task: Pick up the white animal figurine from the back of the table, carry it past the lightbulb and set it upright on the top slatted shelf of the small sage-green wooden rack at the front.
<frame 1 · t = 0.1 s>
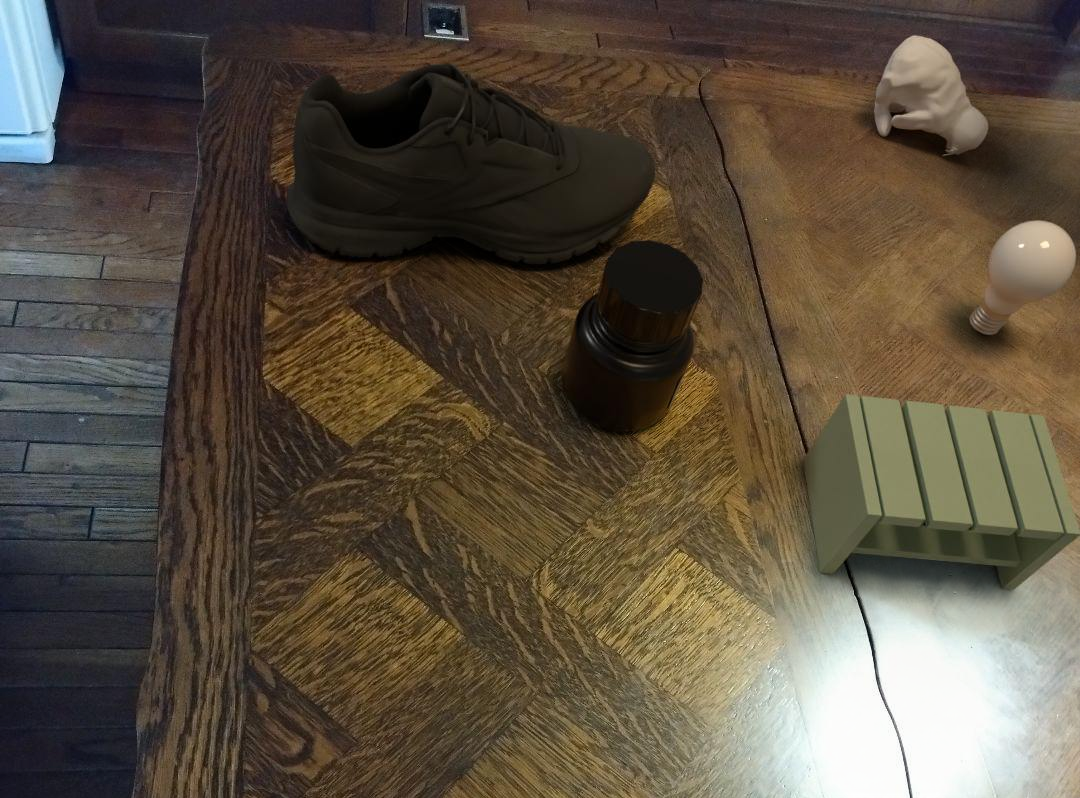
white animal figurine: (916, 137, 100), on the table
rack: (906, 522, 74), on the table
ink bottle: (615, 390, 77), on the table
running shoe: (472, 228, 84), on the table
lightbulb: (979, 330, 86), on the table
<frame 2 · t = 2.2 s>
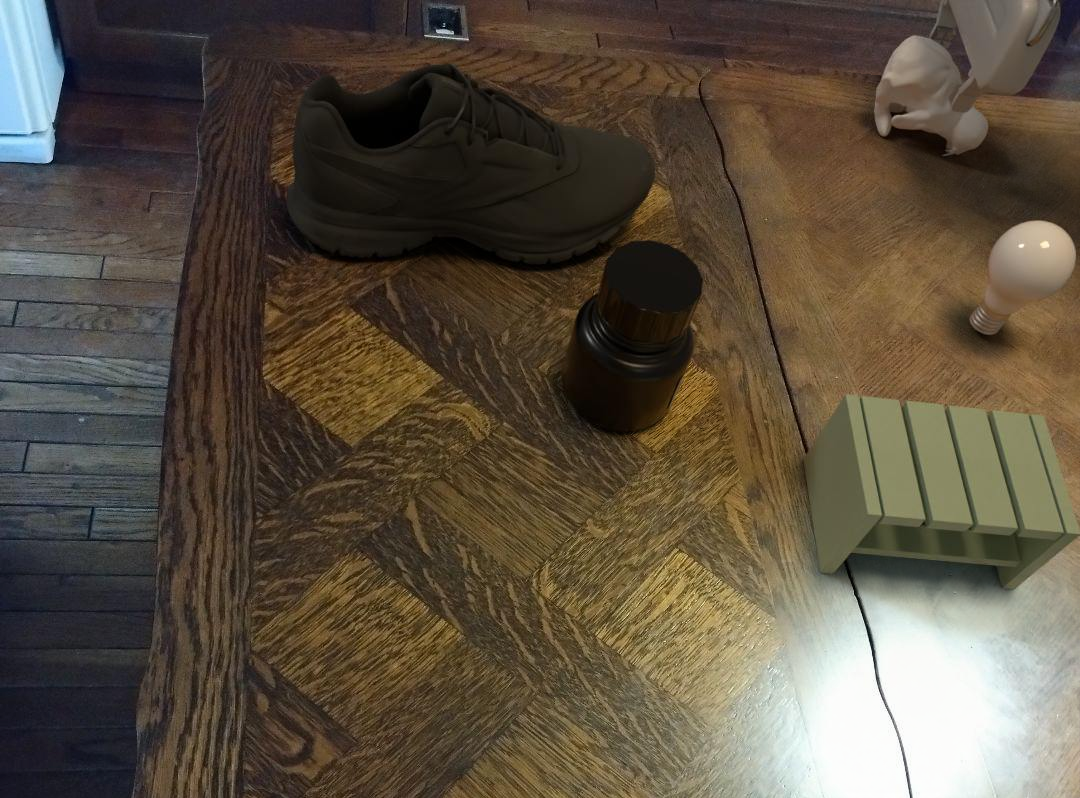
hand: (946, 75, 94), 7 cm above the table, tool pointing down, fingers open, 8 cm apart
white animal figurine: (916, 137, 100), on the table, touching gripper
everything else where it was.
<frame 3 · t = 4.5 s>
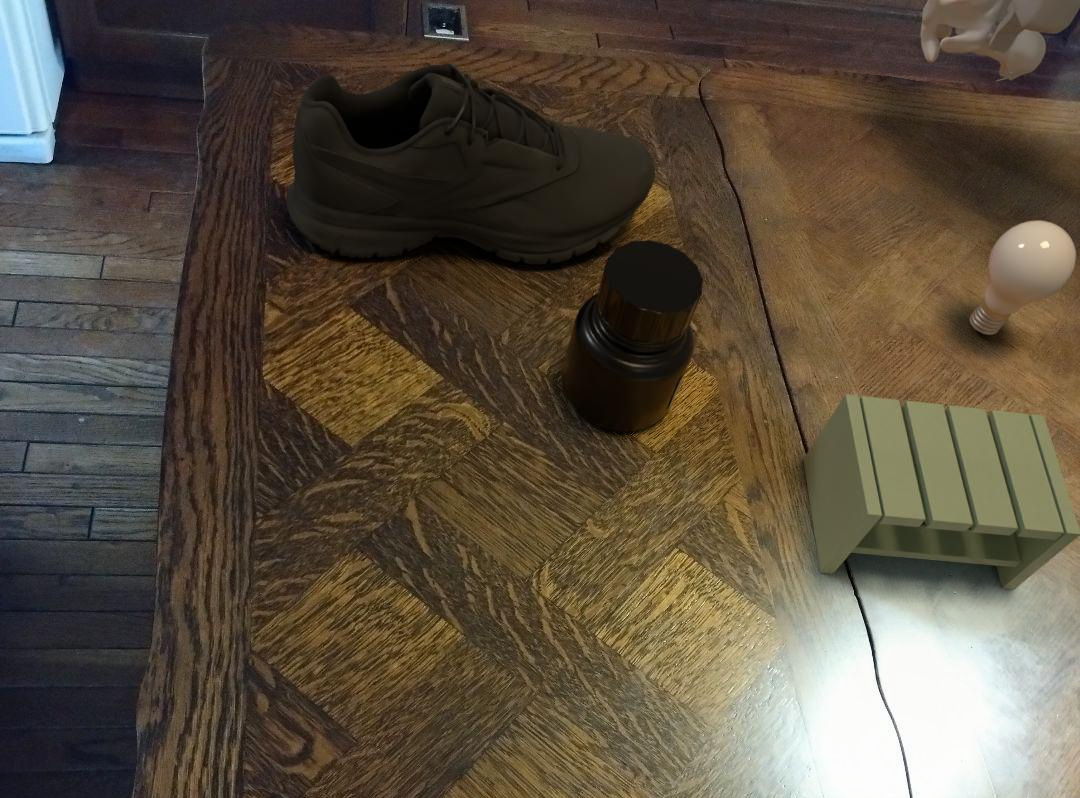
hand: (985, 19, 89), 12 cm above the table, tool pointing down, fingers closed on white animal figurine, 6 cm apart
white animal figurine: (965, 63, 92), point 8 cm above the table, touching gripper
everything else where it was.
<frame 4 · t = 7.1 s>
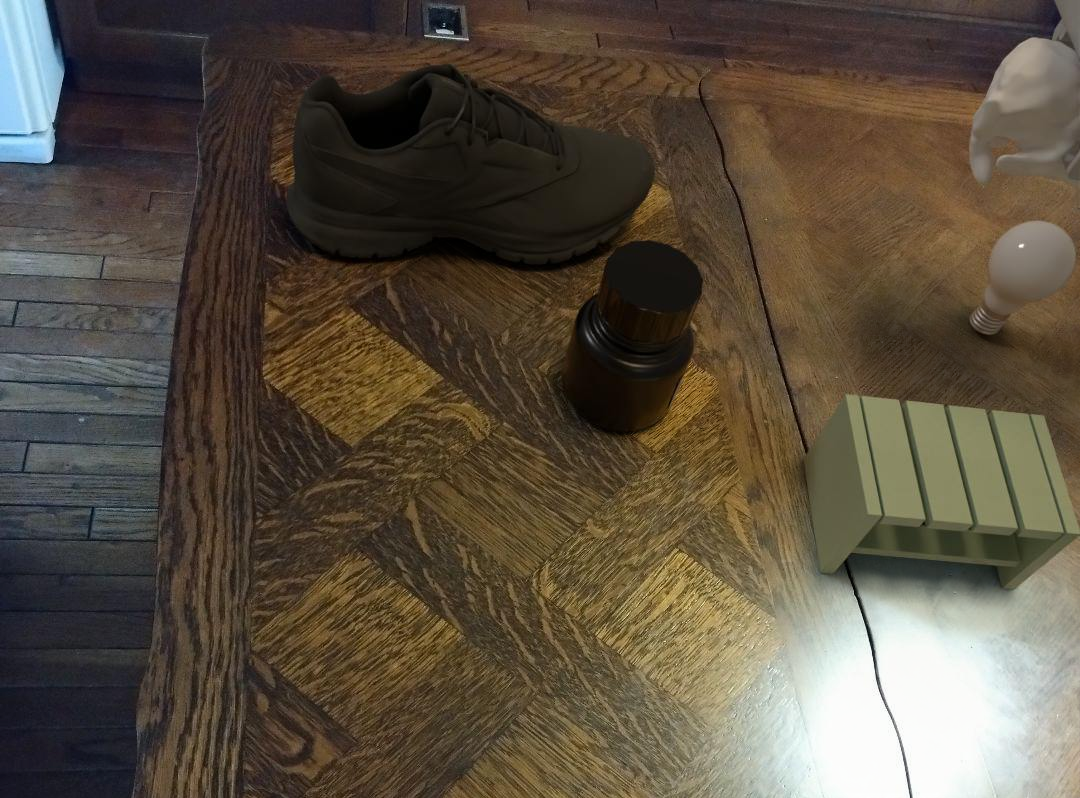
hand: (1059, 132, 66), 21 cm above the table, tool pointing down, fingers closed on white animal figurine, 6 cm apart
white animal figurine: (1027, 184, 69), point 17 cm above the table, touching gripper
everything else where it was.
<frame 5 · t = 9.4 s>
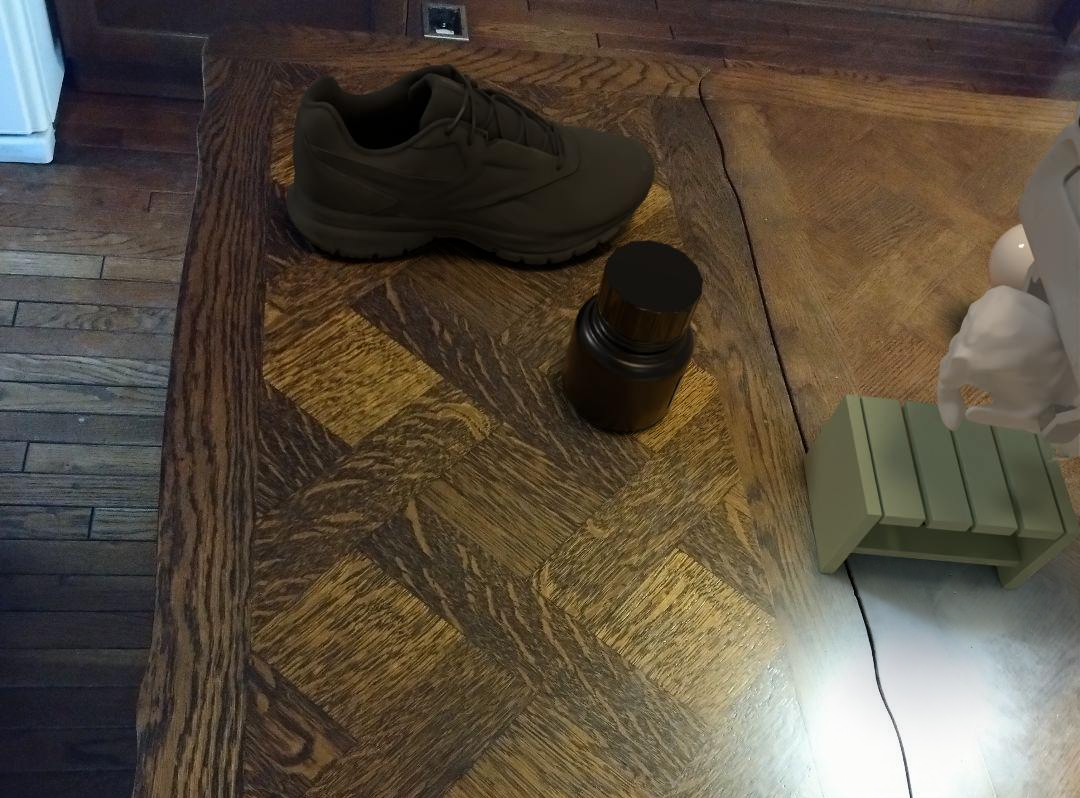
hand: (1034, 380, 60), 17 cm above the table, tool pointing down, fingers closed on white animal figurine, 6 cm apart
white animal figurine: (1001, 424, 63), point 13 cm above the table, touching gripper
everything else where it was.
when the fingers open (12 cm above the table, at t = 11.1 s): white animal figurine stays where it is, resting on rack.
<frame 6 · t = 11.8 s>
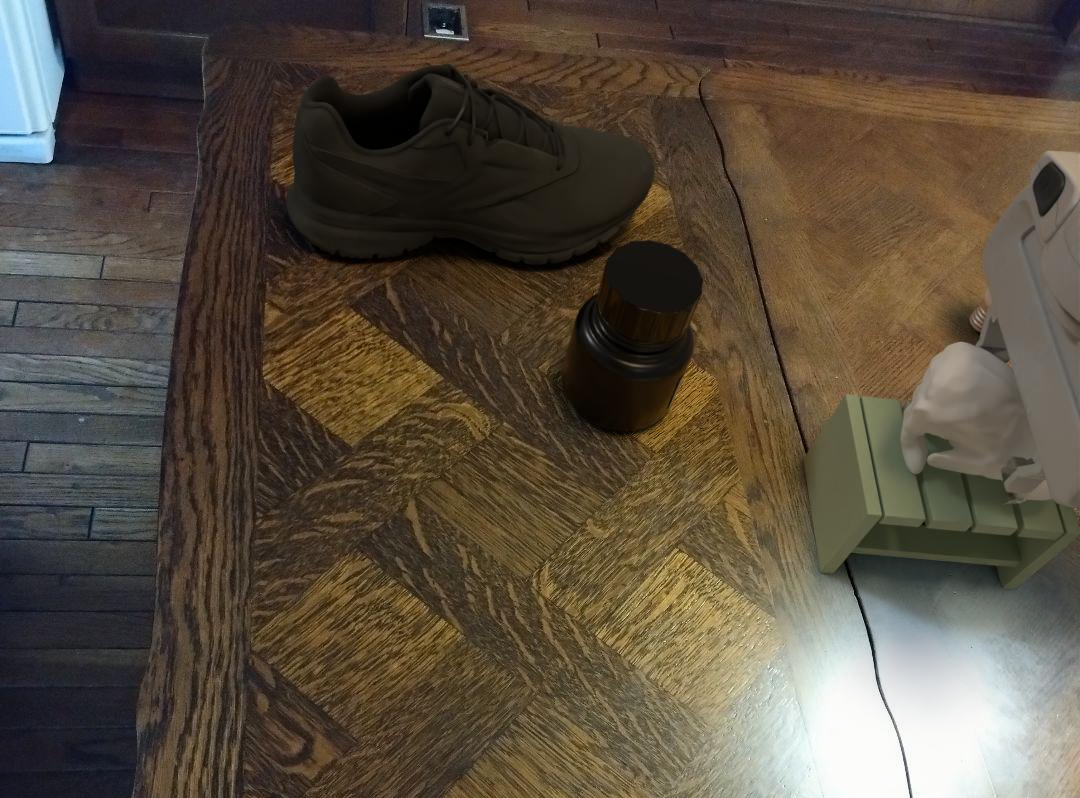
hand: (996, 423, 64), 12 cm above the table, tool pointing down, fingers open, 8 cm apart
white animal figurine: (961, 468, 67), point 8 cm above the table, touching rack
everything else where it was.
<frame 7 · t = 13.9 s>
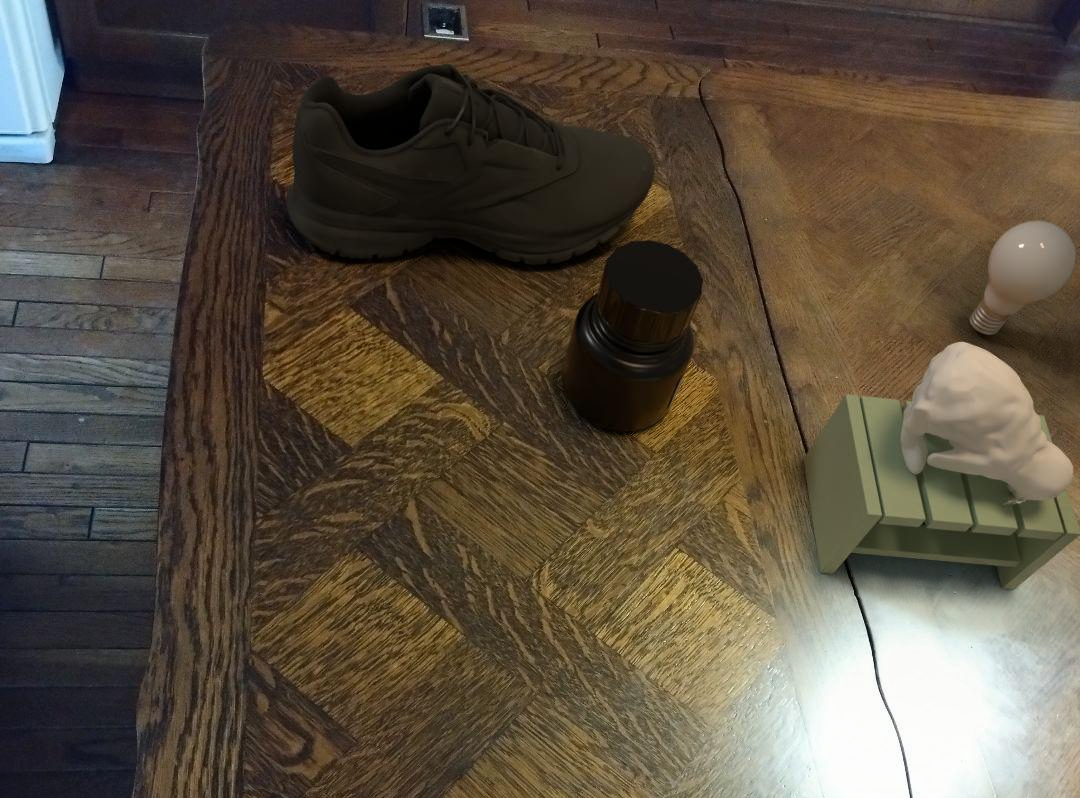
nothing on the table moved.
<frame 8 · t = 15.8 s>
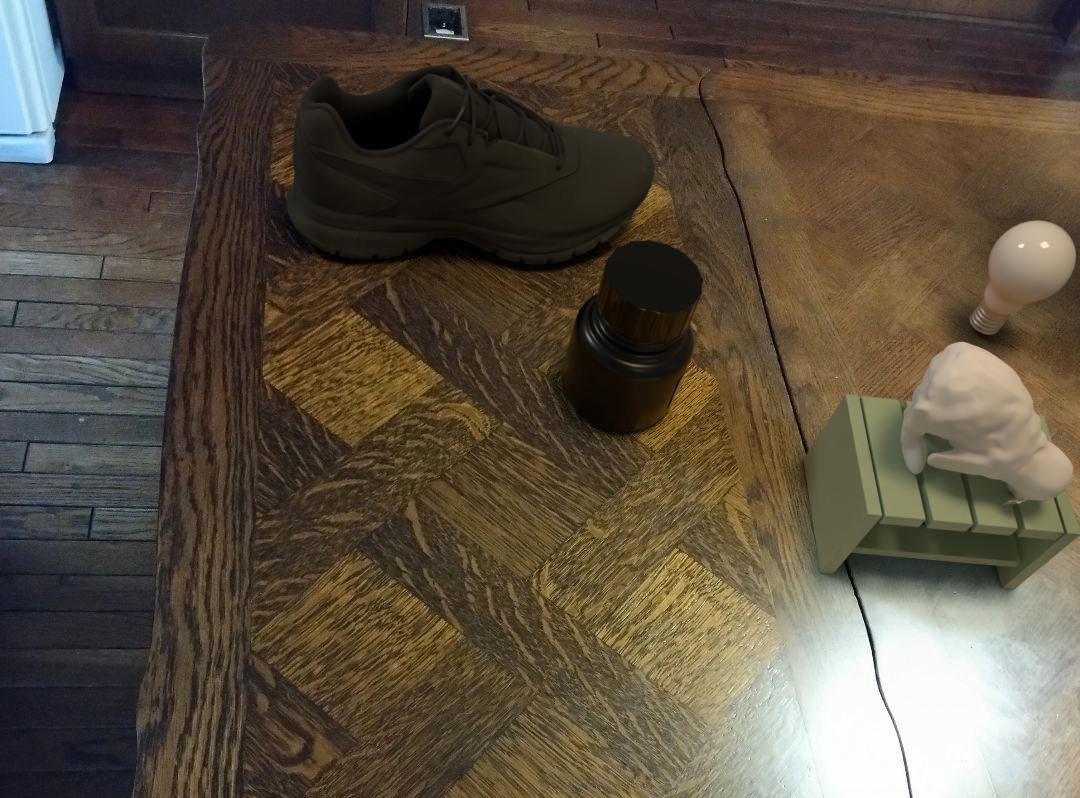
nothing on the table moved.
at the end: white animal figurine inside the target area on the rack (0.3 cm from its centre), point 7.8 cm above the rack's base; white animal figurine tilted 1°; the gripper is holding nothing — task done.
